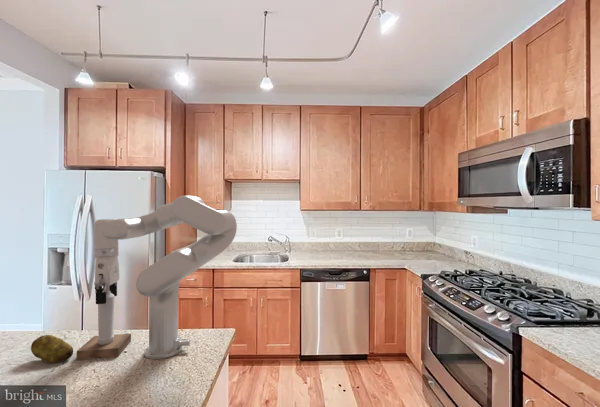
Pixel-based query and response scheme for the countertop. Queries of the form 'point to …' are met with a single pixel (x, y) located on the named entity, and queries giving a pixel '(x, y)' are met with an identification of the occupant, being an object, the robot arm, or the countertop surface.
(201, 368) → the countertop surface
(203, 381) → the countertop surface
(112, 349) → the walnut plinth
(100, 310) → the bottle
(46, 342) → the potato
